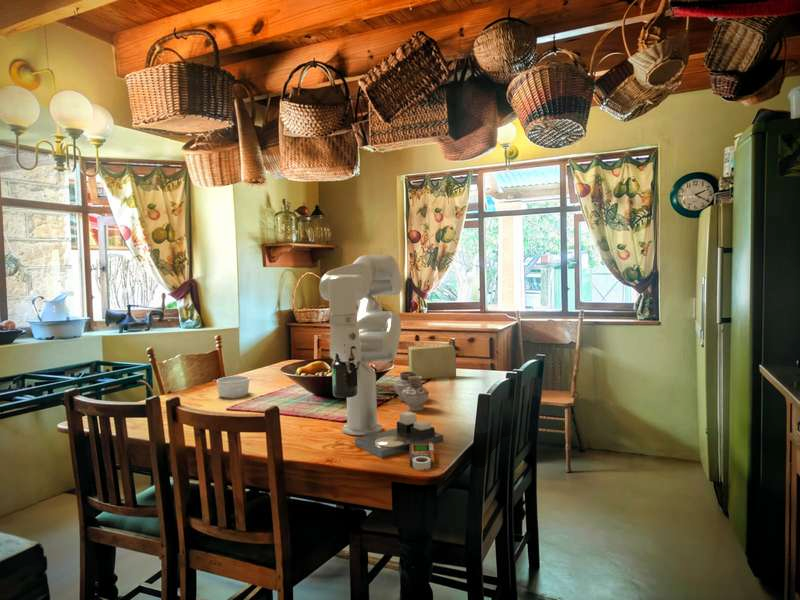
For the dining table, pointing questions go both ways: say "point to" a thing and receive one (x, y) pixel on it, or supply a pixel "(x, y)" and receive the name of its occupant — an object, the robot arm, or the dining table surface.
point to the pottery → (411, 391)
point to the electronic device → (422, 455)
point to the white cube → (422, 425)
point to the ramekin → (233, 386)
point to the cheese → (432, 361)
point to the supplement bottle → (341, 380)
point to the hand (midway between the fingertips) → (345, 383)
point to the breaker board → (396, 440)
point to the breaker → (407, 418)
